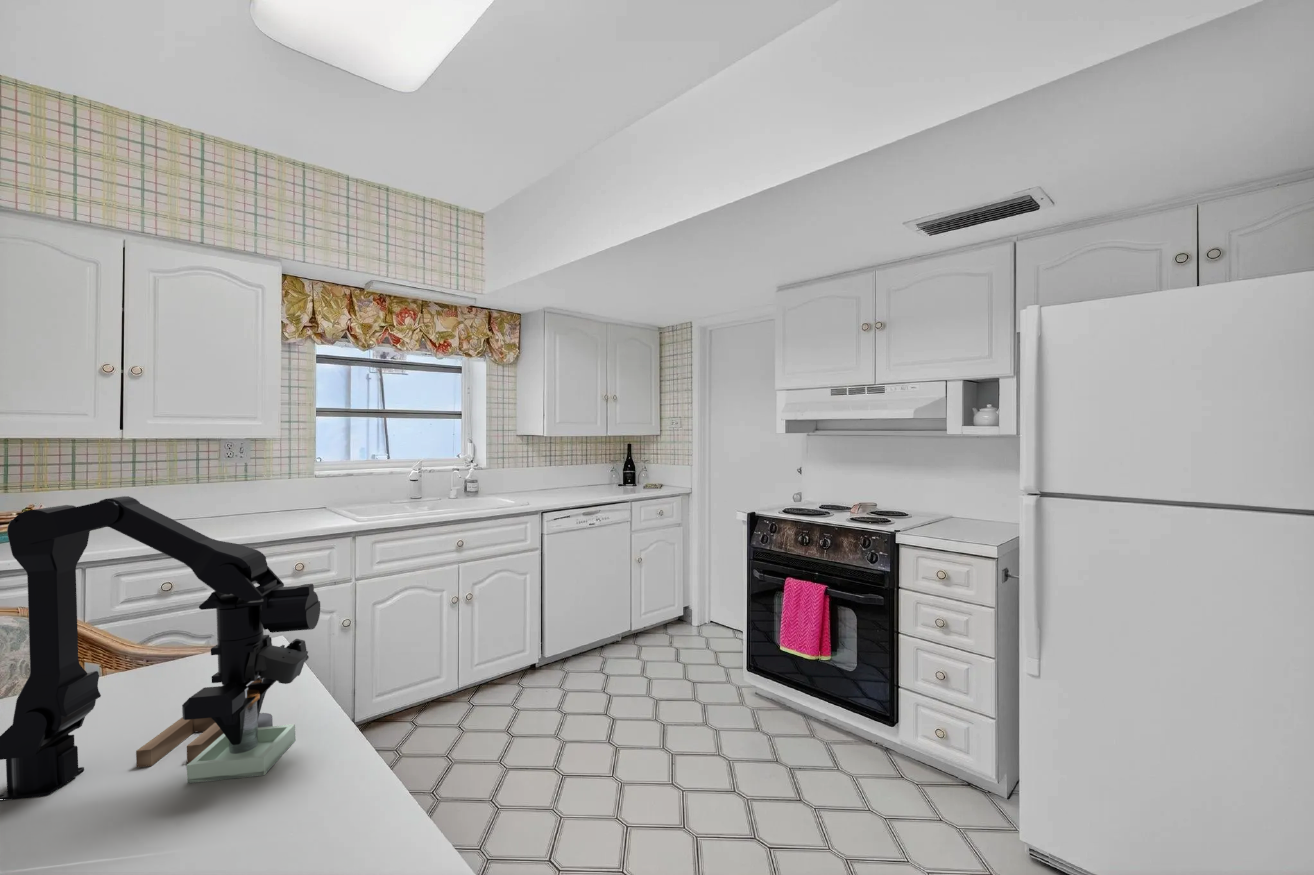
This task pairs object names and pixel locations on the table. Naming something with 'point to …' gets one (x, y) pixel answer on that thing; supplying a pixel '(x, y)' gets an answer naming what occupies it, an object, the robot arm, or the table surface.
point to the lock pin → (248, 726)
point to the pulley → (265, 720)
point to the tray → (241, 756)
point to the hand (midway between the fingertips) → (243, 737)
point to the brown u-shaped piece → (179, 740)
